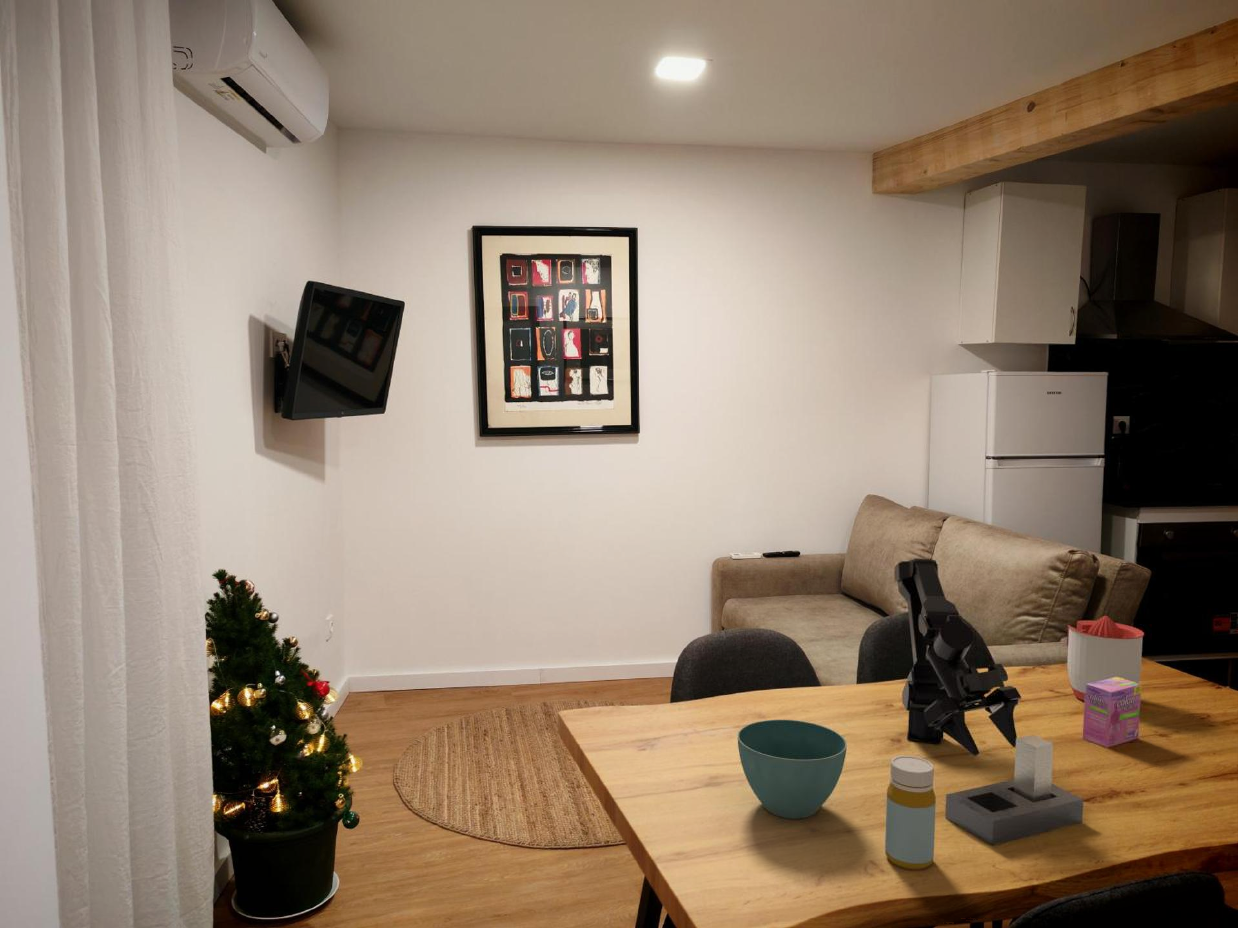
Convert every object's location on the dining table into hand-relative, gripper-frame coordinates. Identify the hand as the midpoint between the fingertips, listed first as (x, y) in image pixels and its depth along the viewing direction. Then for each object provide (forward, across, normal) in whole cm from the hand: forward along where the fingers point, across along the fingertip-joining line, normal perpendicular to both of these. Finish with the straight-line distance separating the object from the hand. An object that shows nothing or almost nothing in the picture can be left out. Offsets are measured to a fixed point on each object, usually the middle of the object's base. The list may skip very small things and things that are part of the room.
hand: (996, 750), depth 154 cm
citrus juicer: (-13, +62, +27) cm, 69 cm away
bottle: (+14, -29, -2) cm, 32 cm away
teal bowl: (-1, -36, +13) cm, 39 cm away
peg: (+12, 0, 0) cm, 12 cm away
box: (0, +43, +14) cm, 45 cm away
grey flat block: (+11, -4, 0) cm, 12 cm away
